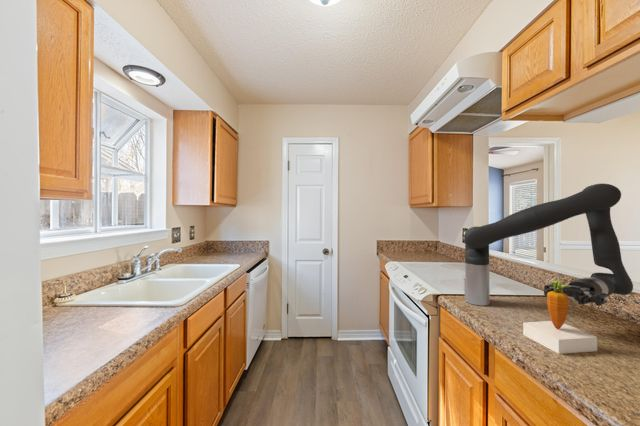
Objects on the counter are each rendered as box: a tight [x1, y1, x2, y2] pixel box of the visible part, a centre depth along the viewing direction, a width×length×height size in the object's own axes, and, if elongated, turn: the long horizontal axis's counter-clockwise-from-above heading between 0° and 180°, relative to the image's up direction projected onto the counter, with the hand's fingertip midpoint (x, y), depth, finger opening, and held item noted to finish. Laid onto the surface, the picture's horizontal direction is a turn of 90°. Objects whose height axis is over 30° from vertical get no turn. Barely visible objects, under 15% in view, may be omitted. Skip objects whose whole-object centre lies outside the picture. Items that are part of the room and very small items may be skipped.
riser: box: [522, 320, 598, 355], centre depth 84 cm, size 12×12×4 cm
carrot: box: [546, 280, 569, 329], centre depth 84 cm, size 5×5×15 cm
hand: (562, 297), depth 85 cm, fingers open, 8 cm apart
